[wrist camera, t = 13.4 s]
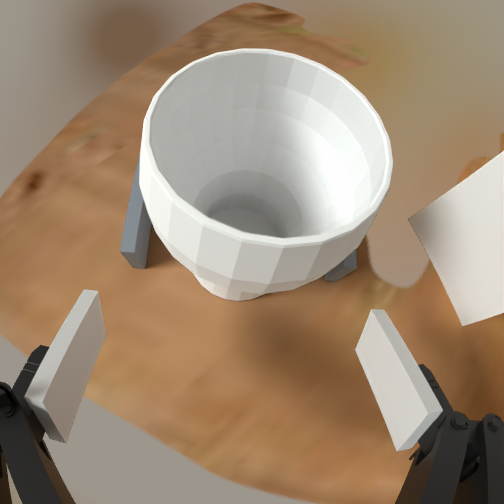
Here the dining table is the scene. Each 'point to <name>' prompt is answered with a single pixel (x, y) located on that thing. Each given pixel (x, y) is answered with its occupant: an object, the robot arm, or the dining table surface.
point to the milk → (469, 242)
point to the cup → (261, 170)
